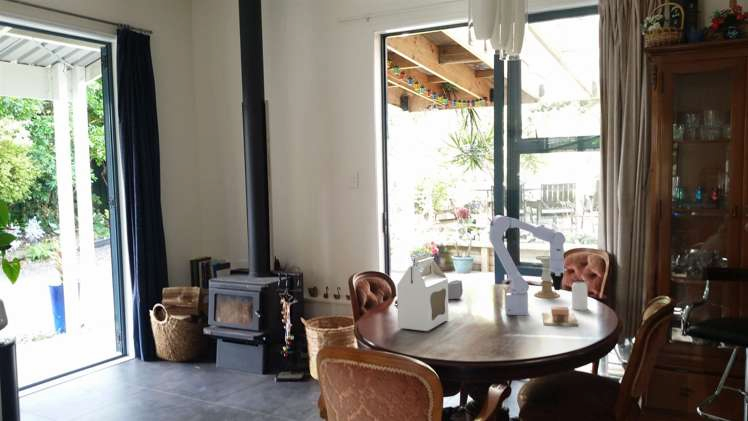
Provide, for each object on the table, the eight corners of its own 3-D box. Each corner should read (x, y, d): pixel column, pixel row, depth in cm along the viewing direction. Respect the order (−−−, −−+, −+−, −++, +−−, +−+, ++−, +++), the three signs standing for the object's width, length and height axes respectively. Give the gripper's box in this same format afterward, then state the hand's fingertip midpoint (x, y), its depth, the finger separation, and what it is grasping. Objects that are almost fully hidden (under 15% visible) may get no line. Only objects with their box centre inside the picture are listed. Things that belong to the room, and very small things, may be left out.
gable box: (427, 331, 217) (426, 259, 216) (397, 328, 224) (395, 258, 223) (448, 319, 237) (447, 253, 235) (420, 316, 243) (419, 252, 242)
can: (588, 311, 245) (588, 283, 245) (573, 310, 247) (572, 283, 246) (586, 307, 252) (585, 281, 251) (571, 307, 253) (570, 281, 252)
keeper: (552, 320, 224) (551, 309, 223) (551, 318, 228) (551, 306, 228) (568, 321, 222) (568, 309, 222) (568, 318, 227) (567, 307, 227)
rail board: (543, 325, 223) (543, 315, 222) (542, 314, 240) (542, 305, 240) (578, 326, 219) (578, 316, 219) (574, 316, 237) (574, 306, 236)
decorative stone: (468, 291, 279) (457, 273, 280) (467, 293, 272) (456, 276, 273) (443, 305, 282) (433, 288, 283) (442, 308, 276) (431, 291, 276)
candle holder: (539, 294, 286) (538, 254, 285) (563, 296, 279) (562, 256, 278) (530, 298, 276) (529, 257, 275) (555, 300, 269) (554, 259, 268)
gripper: (567, 261, 235) (568, 293, 236) (565, 256, 249) (565, 287, 250) (550, 261, 237) (550, 292, 237) (548, 256, 251) (549, 286, 251)
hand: (557, 289), depth 244 cm, fingers closed
